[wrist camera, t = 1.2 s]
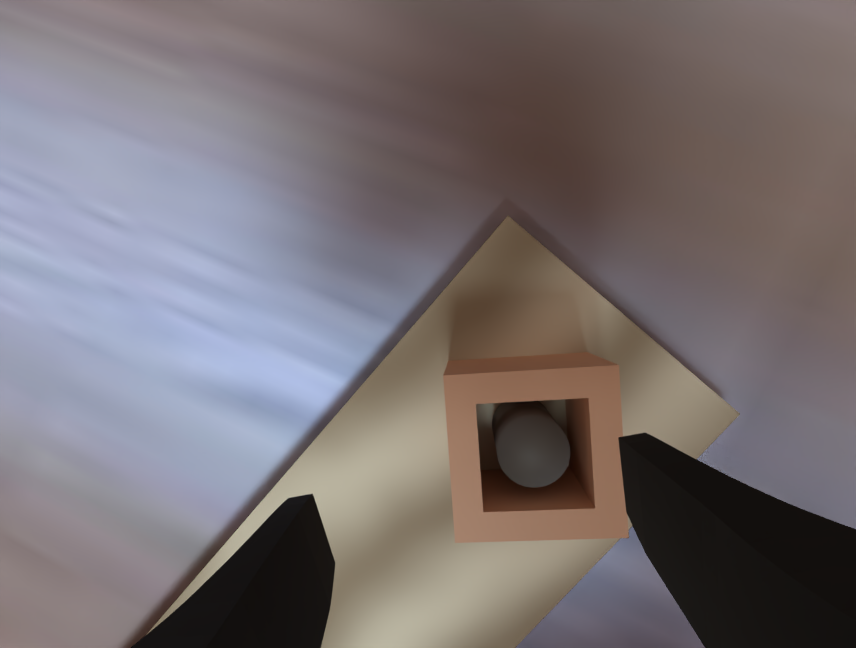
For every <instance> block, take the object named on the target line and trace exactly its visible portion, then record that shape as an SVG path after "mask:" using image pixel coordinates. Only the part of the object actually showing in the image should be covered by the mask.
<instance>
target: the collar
mask: <svg viewBox="0 0 856 648" xmlns="http://www.w3.org/2000/svg"><path fill="white" fill-rule="evenodd" d="M443 380H444V394H445V408H446V422H447V436H448V450H449V465H450V479H451V493H452V507H453V521H454V535H455V543H470V542H504V541H539V540H573V539H608V538H629V532H628V515H627V513H626V505H625V496H624V486H623V477H622V468H621V459H620V449H619V440H618V437H623V427H622V409H621V392H620V374H619V365H618V364H615V363H613V362H610V361H608V360H605V359H603V358H601V357H598V356H596V355H593V354H591V353H588V352H583V353H566V354H550V355H534V356H518V357H502V358H486V359H469V360H453V361H448V363H447V366H446V369H445V372H444V375H443ZM561 399H565V406H566V422H567V438H568V442H569V445H570V460H569V467H567V468H566V470H565V472H564V473H563V474H562V476H561V477H560V478H559V479H557V480H556V481H555V482H553V483H551V484H549V485H547V486H543V487H537V488H531V487H525V486H522V485H519V484H517V483H515V482H514V481H512V480H511V479H510V478H509V477H508V476H507V475H506V474H505V473H504V472H503V470H502V469H497V470H480V457H479V443H478V428H477V413H476V404H486V403H505V402H523V401H542V400H561Z"/></svg>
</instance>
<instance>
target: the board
mask: <svg viewBox="0 0 856 648" xmlns="http://www.w3.org/2000/svg"><path fill="white" fill-rule="evenodd" d="M583 352H588V353H591V354H593V355H596V356H598V357H601V358H603V359H605V360H608V361H610V362H613V363H615V364H618V365H619V374H620V392H621V409H622V427H623V436H628V435H634V434H639V433H647V434H650V435H652V436H654V437H656V438H657V439H659V440H661V441H663V442H665V443H667V444H669V445H670V446H672V447H674V448H676V449H678V450H680V451H682V452H683V453H685V454H687V455H689V456H691V457H693V458H695V459H697V458H698V457H699V456H700V455H701V454H702V453H703V452H704V451H705V450H706V449H707V448H708V447H709V446H710V445H711V444H712V443H713V442H714V441H715V440H716V438H717V437H718V436H719V435H720V434H721V433H722V432H723V431H724V430H725V429H726V428H727V427H728V426H729V425H730V424H731V423H732V422H733V421H734V420H735V419H736V418H737V417H738V416H739V415H740V414H739V413H738V412H737V411H736V410H735V409H734V408H732V407H731V406H730V405H729V404H728V403H727V402H725V401H724V400H723V399H722V398H721V397H720V396H718V395H717V394H716V393H715V392H714V391H713V390H711V389H710V388H709V387H708V386H707V385H706V384H704V383H703V382H702V381H701V380H700V379H699V378H697V377H696V376H695V375H694V374H693V373H692V372H690V371H689V370H688V369H687V368H686V367H685V366H683V365H682V364H681V363H680V362H679V361H677V360H676V359H675V358H674V357H673V356H672V355H670V354H669V353H668V352H667V351H666V350H665V349H663V348H662V347H661V346H660V345H659V344H658V343H656V342H655V341H654V340H653V339H652V338H651V337H649V336H648V335H647V334H646V333H645V332H644V331H642V330H641V329H640V328H639V327H638V326H637V325H635V324H634V323H633V322H632V321H631V320H630V319H628V318H627V317H626V316H625V315H624V314H622V313H621V312H620V311H619V310H618V309H617V308H615V307H614V306H613V305H612V304H611V303H610V302H608V301H607V300H606V299H605V298H604V297H603V296H601V295H600V294H599V293H598V292H597V291H596V290H594V289H593V288H592V287H591V286H590V285H589V284H587V283H586V282H585V281H584V280H583V279H582V278H580V277H579V276H578V275H577V274H576V273H575V272H573V271H572V270H571V269H570V268H569V267H568V266H566V265H565V264H564V263H563V262H562V261H560V260H559V259H558V258H557V257H556V256H555V255H553V254H552V253H551V252H550V251H549V250H548V249H546V248H545V247H544V246H543V245H542V244H541V243H539V242H538V241H537V240H536V239H535V238H534V237H532V236H531V235H530V234H529V233H528V232H527V231H525V230H524V229H523V228H522V227H521V226H520V225H518V224H517V223H516V222H515V221H514V220H513V219H511V218H510V217H509V216H507V217H506V218H505V220H504V221H503V222H502V223H501V224H500V225H499V227H498V228H497V229H496V230H495V231H494V232H493V233H492V235H491V236H490V237H489V238H488V239H487V240H486V242H485V243H484V244H483V245H482V246H481V247H480V249H479V250H478V251H477V252H476V253H475V254H474V255H473V257H472V258H471V259H470V260H469V261H468V262H467V264H466V265H465V266H464V267H463V268H462V269H461V271H460V272H459V273H458V274H457V275H456V276H455V278H454V279H453V280H452V281H451V282H450V283H449V284H448V286H447V287H446V288H445V289H444V290H443V291H442V293H441V294H440V295H439V296H438V297H437V298H436V300H435V301H434V302H433V303H432V304H431V305H430V306H429V308H428V309H427V310H426V311H425V312H424V313H423V315H422V316H421V317H420V318H419V319H418V320H417V322H416V323H415V324H414V325H413V326H412V327H411V329H410V330H409V331H408V332H407V333H406V334H405V335H404V337H403V338H402V339H401V340H400V341H399V342H398V344H397V345H396V346H395V347H394V348H393V349H392V351H391V352H390V353H389V354H388V355H387V356H386V357H385V359H384V360H383V361H382V362H381V363H380V364H379V366H378V367H377V368H376V369H375V370H374V371H373V373H372V374H371V375H370V376H369V377H368V378H367V380H366V381H365V382H364V383H363V384H362V385H361V386H360V388H359V389H358V390H357V391H356V392H355V393H354V395H353V396H352V397H351V398H350V399H349V400H348V402H347V403H346V404H345V405H344V406H343V407H342V408H341V410H340V411H339V412H338V413H337V414H336V415H335V417H334V418H333V419H332V420H331V421H330V422H329V424H328V425H327V426H326V427H325V428H324V429H323V431H322V432H321V433H320V434H319V435H318V436H317V437H316V439H315V440H314V441H313V442H312V443H311V444H310V446H309V447H308V448H307V449H306V450H305V451H304V453H303V454H302V455H301V456H300V457H299V458H298V459H297V461H296V462H295V463H294V464H293V465H292V466H291V468H290V469H289V470H288V471H287V472H286V473H285V475H284V476H283V477H282V478H281V479H280V480H279V482H278V483H277V484H276V485H275V486H274V487H273V488H272V490H271V491H270V492H269V493H268V494H267V495H266V497H265V498H264V499H263V500H262V501H261V502H260V504H259V505H258V506H257V507H256V508H255V509H254V510H253V512H252V513H251V514H250V515H249V516H248V517H247V519H246V520H245V521H244V522H243V523H242V524H241V526H240V527H239V528H238V529H237V530H236V531H235V532H234V534H233V535H232V536H231V537H230V538H229V539H228V541H227V542H226V543H225V544H224V545H223V546H222V548H221V549H220V550H219V551H218V552H217V553H216V555H215V556H214V557H213V558H212V559H211V560H210V561H209V563H208V564H207V565H206V566H205V567H204V568H203V570H202V571H201V572H200V573H199V574H198V575H197V577H196V578H195V579H194V580H193V581H192V582H191V583H190V585H189V586H188V587H187V588H186V589H185V590H184V592H183V593H182V594H181V595H180V596H179V597H178V599H177V600H176V601H175V602H174V603H173V604H172V606H171V607H170V608H169V609H168V610H167V611H166V612H165V614H164V615H163V616H162V617H161V618H160V619H159V621H158V622H157V623H156V624H155V625H154V626H153V628H152V629H151V630H150V631H152V630H153V629H154V628H155V627H156V626H158V625H159V624H160V623H161V622H162V621H164V620H165V619H166V618H167V617H168V616H169V615H170V614H172V613H173V612H174V611H175V610H176V609H177V608H178V607H180V606H181V605H182V604H183V603H184V602H185V601H186V600H187V599H188V598H189V597H190V596H191V595H192V594H193V593H195V592H196V591H197V590H198V589H199V588H200V587H201V586H202V585H203V584H204V583H205V582H206V581H207V580H208V579H209V578H210V577H211V576H212V575H213V574H214V573H215V572H216V571H217V570H218V569H219V568H220V567H221V566H222V565H223V564H224V563H225V562H226V561H227V560H228V559H229V558H230V557H231V556H232V555H233V554H234V553H235V552H236V551H237V550H238V549H239V548H240V547H241V546H242V545H243V544H244V543H245V542H246V541H247V540H248V539H249V537H250V536H251V535H252V534H253V533H254V532H255V531H256V530H257V529H258V528H259V527H260V526H261V525H262V524H263V523H264V522H265V521H266V520H267V518H268V517H269V516H270V515H271V514H272V513H273V512H274V511H275V510H276V509H277V508H278V507H279V506H280V505H281V504H282V503H283V502H284V501H285V500H287V499H288V498H291V497H297V496H302V495H307V494H313V496H314V499H315V502H316V505H317V508H318V511H319V514H320V517H321V520H322V523H323V526H324V529H325V532H326V536H327V539H328V542H329V545H330V548H331V551H332V554H333V557H334V560H335V572H334V582H333V591H332V599H331V606H330V611H329V616H328V620H327V624H326V628H325V633H324V637H323V641H322V645H321V648H515V647H516V646H517V645H518V644H519V643H520V642H521V641H522V640H523V639H524V638H525V637H526V636H527V635H528V634H529V633H530V632H531V631H532V630H533V629H534V628H535V627H536V625H537V624H538V623H539V622H540V621H541V620H542V619H543V618H544V617H545V616H546V615H547V614H548V613H549V612H550V611H551V610H552V609H553V608H554V607H555V606H556V605H557V604H558V603H559V602H560V601H561V600H562V598H563V597H564V596H565V595H566V594H567V593H568V592H569V591H570V590H571V589H572V588H573V587H574V586H575V585H576V584H577V583H578V582H579V581H580V580H581V579H582V578H583V577H584V576H585V575H586V574H587V573H588V571H589V570H590V569H591V568H592V567H593V566H594V565H595V564H596V563H597V562H598V561H599V560H600V559H601V558H602V557H603V556H604V555H605V554H606V553H607V552H608V551H609V550H610V549H611V548H612V547H613V545H614V544H615V543H616V542H617V541H618V540H619V539H620V538H608V539H573V540H539V541H504V542H470V543H455V535H454V521H453V507H452V493H451V479H450V465H449V450H448V436H447V422H446V408H445V394H444V380H443V375H444V372H445V369H446V366H447V363H448V361H453V360H469V359H486V358H502V357H518V356H534V355H550V354H566V353H583ZM476 413H477V428H478V443H479V457H480V470H497V469H502V470H503V472H504V473H505V474H506V475H507V476H508V477H509V478H510V479H511V480H512V481H514V482H515V483H517V484H519V485H522V486H525V487H531V488H537V487H543V486H547V485H549V484H551V483H553V482H555V481H556V480H557V479H559V478H560V477H561V476H562V474H563V473H564V472H565V470H566V468H567V467H569V460H570V445H569V442H568V438H567V422H566V406H565V399H561V400H542V401H523V402H505V403H486V404H476ZM631 527H632V523H631V521H630V519H629V517H628V530H629V529H630V528H631ZM150 631H149V632H150ZM149 632H148V633H149ZM148 633H147V634H148ZM147 634H146V635H147Z"/></svg>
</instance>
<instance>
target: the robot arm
mask: <svg viewBox="0 0 856 648" xmlns="http://www.w3.org/2000/svg"><path fill="white" fill-rule="evenodd" d="M618 440H619V449H620V459H621V468H622V477H623V486H624V496H625V505H626V513H627V515H628V517H629V519H630V521H631V523H632V526H633V528H634V530H635V532H636V534H637V536H638V538H639V540H640V542H641V544H642V546H643V549H644V551H645V553H646V554H647V556H648V558H649V559H650V561H651V563H652V564H653V566H654V567H655V569H656V571H657V572H658V574H659V575H660V577H661V579H662V580H663V582H664V583H665V585H666V587H667V588H668V590H669V591H670V593H671V594H672V596H673V598H674V599H675V601H676V602H677V604H678V605H679V607H680V609H681V610H682V612H683V613H684V615H685V616H686V618H687V620H688V621H689V623H690V624H691V626H692V627H693V629H694V631H695V632H696V634H697V635H698V637H699V638H700V640H701V642H702V643H703V645H704V646H705V648H856V529H854V528H851V527H848V526H845V525H842V524H839V523H837V522H834V521H832V520H829V519H826V518H824V517H821V516H818V515H816V514H813V513H811V512H808V511H805V510H803V509H800V508H798V507H795V506H793V505H791V504H788V503H786V502H783V501H781V500H779V499H777V498H774V497H772V496H770V495H768V494H765V493H763V492H761V491H759V490H757V489H754V488H752V487H750V486H748V485H746V484H744V483H742V482H740V481H738V480H735V479H733V478H731V477H729V476H727V475H725V474H723V473H721V472H719V471H717V470H716V469H714V468H712V467H710V466H708V465H706V464H704V463H702V462H700V461H698V460H696V459H695V458H693V457H691V456H689V455H687V454H685V453H683V452H682V451H680V450H678V449H676V448H674V447H672V446H670V445H669V444H667V443H665V442H663V441H661V440H659V439H657V438H656V437H654V436H652V435H650V434H647V433H639V434H634V435H628V436H623V437H618ZM334 572H335V560H334V557H333V554H332V551H331V548H330V545H329V542H328V539H327V536H326V532H325V529H324V526H323V523H322V520H321V517H320V514H319V511H318V508H317V505H316V502H315V499H314V496H313V494H307V495H302V496H297V497H291V498H288V499H287V500H285V501H284V502H283V503H282V504H281V505H280V506H279V507H278V508H277V509H276V510H275V511H274V512H273V513H272V514H271V515H270V516H269V517H268V518H267V520H266V521H265V522H264V523H263V524H262V525H261V526H260V527H259V528H258V529H257V530H256V531H255V532H254V533H253V534H252V535H251V536H250V537H249V539H248V540H247V541H246V542H245V543H244V544H243V545H242V546H241V547H240V548H239V549H238V550H237V551H236V552H235V553H234V554H233V555H232V556H231V557H230V558H229V559H228V560H227V561H226V562H225V563H224V564H223V565H222V566H221V567H220V568H219V569H218V570H217V571H216V572H215V573H214V574H213V575H212V576H211V577H210V578H209V579H208V580H207V581H206V582H205V583H204V584H203V585H202V586H201V587H200V588H199V589H198V590H197V591H196V592H195V593H193V594H192V595H191V596H190V597H189V598H188V599H187V600H186V601H185V602H184V603H183V604H182V605H181V606H180V607H178V608H177V609H176V610H175V611H174V612H173V613H172V614H170V615H169V616H168V617H167V618H166V619H165V620H164V621H162V622H161V623H160V624H159V625H158V626H156V627H155V628H154V629H153V630H152V631H150V632H149V633H148V634H147V635H146V636H144V637H143V638H142V639H141V640H140V641H138V642H137V643H136V644H135V645H133V646H132V647H131V648H321V645H322V641H323V637H324V633H325V628H326V624H327V620H328V616H329V611H330V606H331V599H332V591H333V582H334Z"/></svg>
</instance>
